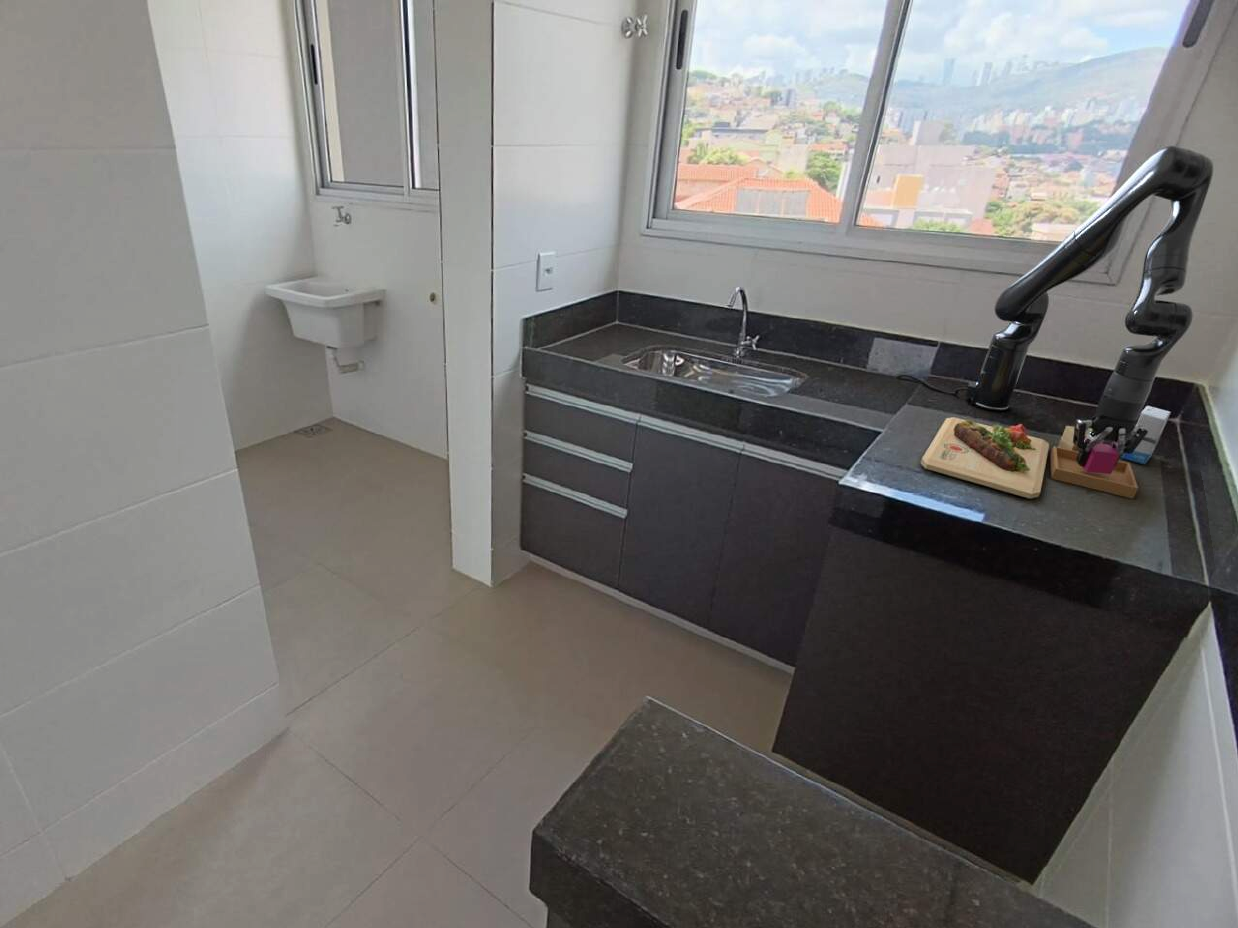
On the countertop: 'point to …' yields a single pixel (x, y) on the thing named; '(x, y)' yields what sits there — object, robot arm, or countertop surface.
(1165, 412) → the ink box
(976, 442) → the cutting board
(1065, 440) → the base block
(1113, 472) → the tray
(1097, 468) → the pink block
